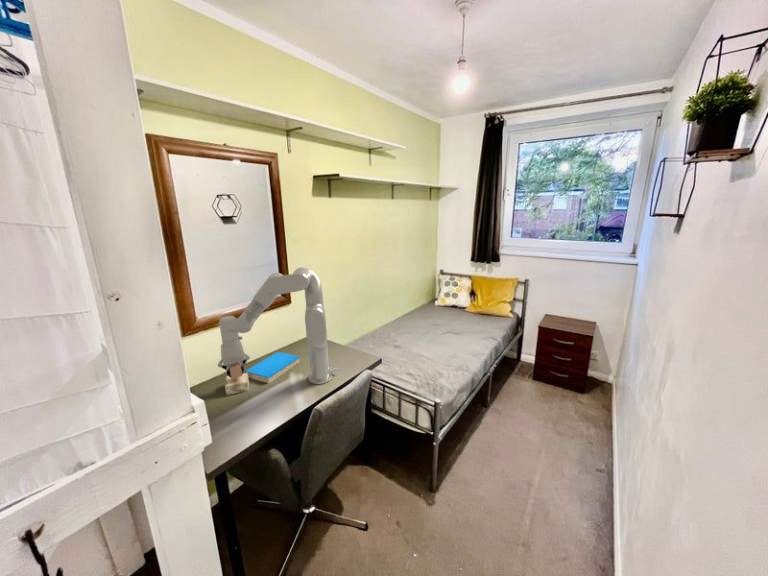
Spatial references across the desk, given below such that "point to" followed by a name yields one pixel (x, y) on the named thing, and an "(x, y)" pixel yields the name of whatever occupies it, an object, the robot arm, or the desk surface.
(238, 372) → the block
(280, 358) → the book
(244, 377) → the base
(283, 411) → the desk surface
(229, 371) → the robot arm
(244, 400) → the desk surface
